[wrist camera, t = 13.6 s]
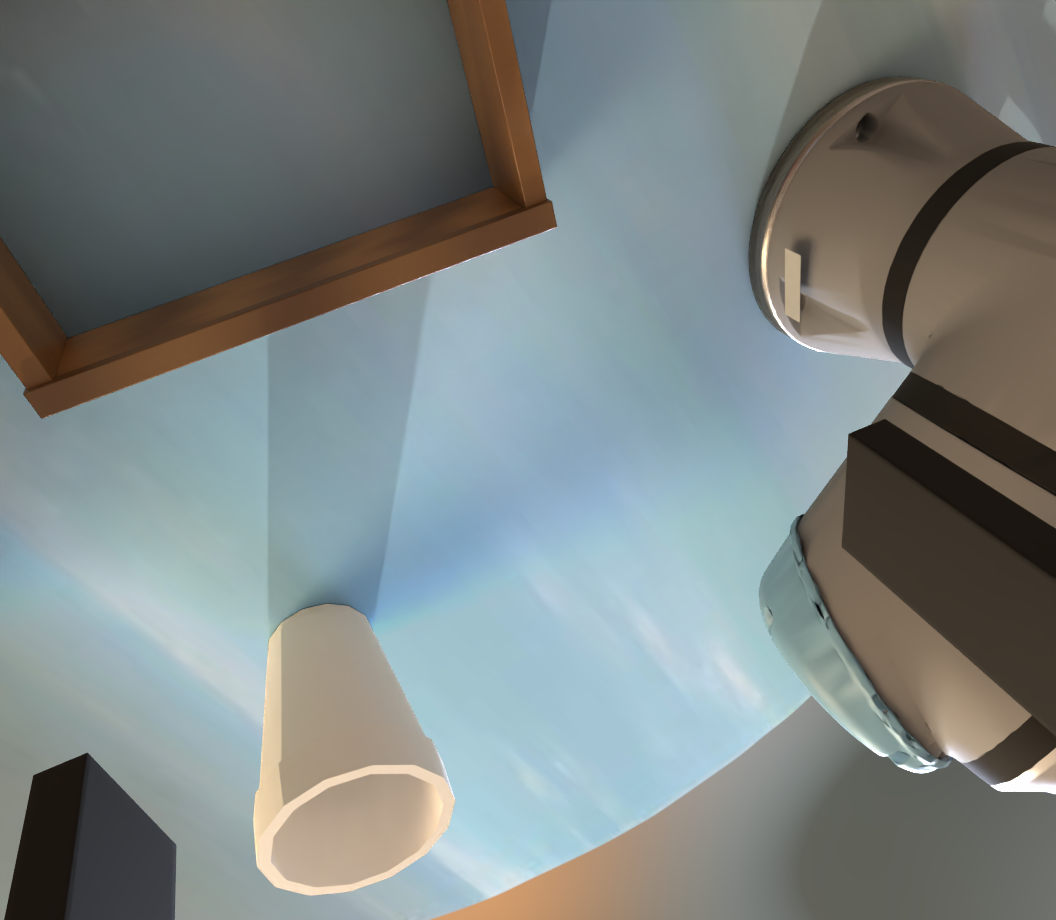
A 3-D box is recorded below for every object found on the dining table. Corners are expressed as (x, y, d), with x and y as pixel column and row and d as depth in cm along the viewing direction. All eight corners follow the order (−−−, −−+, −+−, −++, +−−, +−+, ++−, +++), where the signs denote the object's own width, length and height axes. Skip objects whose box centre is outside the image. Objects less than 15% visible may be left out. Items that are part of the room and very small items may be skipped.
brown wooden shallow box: (425, -205, 28) (463, -231, 24) (519, 201, 37) (557, 227, 33) (-224, -35, 24) (-300, -36, 20) (57, 368, 33) (41, 419, 30)
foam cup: (345, 711, 51) (386, 899, 40) (210, 682, 45) (219, 890, 35) (424, 607, 48) (489, 778, 38) (292, 563, 43) (327, 749, 33)
